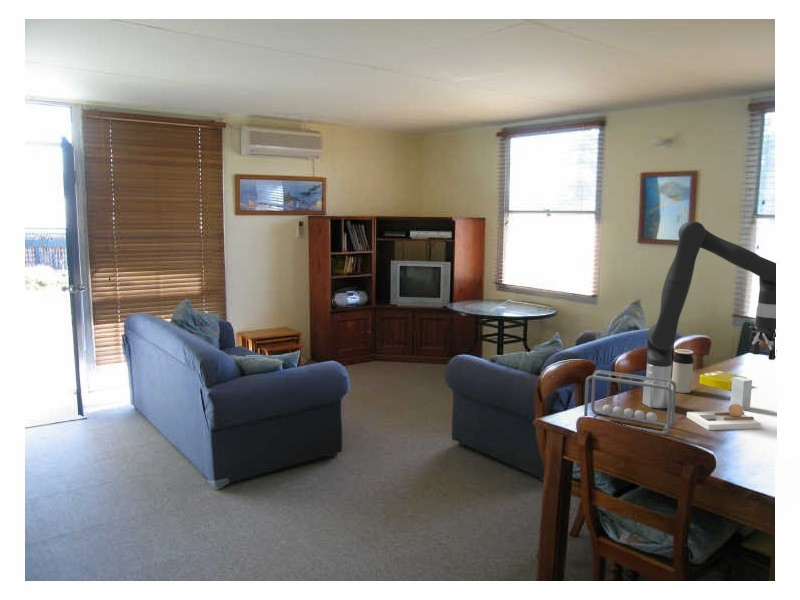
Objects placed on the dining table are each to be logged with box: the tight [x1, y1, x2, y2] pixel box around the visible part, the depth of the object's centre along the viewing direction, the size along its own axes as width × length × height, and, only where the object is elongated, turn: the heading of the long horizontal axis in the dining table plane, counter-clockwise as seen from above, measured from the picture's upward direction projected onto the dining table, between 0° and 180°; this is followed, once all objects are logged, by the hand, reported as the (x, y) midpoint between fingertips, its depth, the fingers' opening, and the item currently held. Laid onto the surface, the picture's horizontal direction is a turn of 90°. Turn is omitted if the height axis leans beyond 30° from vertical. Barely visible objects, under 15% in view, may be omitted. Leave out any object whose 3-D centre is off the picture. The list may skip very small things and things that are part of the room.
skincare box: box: [729, 376, 753, 411], centre depth 245 cm, size 6×4×12 cm
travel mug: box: [670, 348, 694, 394], centre depth 267 cm, size 8×8×18 cm
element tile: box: [699, 370, 748, 392], centre depth 278 cm, size 15×15×5 cm
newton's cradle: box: [583, 369, 677, 436], centre depth 226 cm, size 30×10×18 cm, turn 57°
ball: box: [727, 404, 745, 417], centre depth 228 cm, size 5×5×5 cm
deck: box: [686, 410, 761, 431], centre depth 228 cm, size 20×14×3 cm
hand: (763, 356), depth 233 cm, fingers open, 8 cm apart
